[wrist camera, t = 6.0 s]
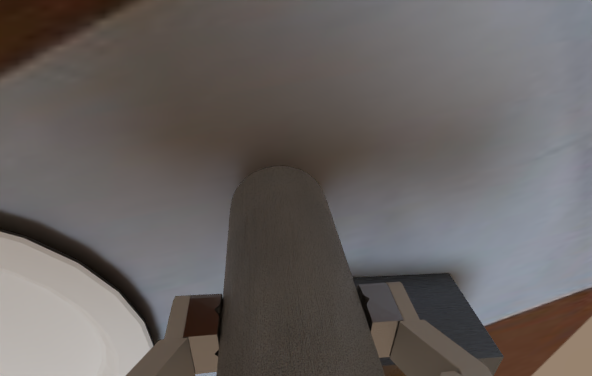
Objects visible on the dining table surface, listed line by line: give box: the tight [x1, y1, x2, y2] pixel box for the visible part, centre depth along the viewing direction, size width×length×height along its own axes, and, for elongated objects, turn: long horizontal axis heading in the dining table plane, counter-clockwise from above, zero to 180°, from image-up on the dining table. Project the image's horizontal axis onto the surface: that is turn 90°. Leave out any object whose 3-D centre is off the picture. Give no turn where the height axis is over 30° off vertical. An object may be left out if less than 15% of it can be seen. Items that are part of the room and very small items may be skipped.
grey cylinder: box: [217, 166, 385, 376], centre depth 13 cm, size 4×4×10 cm
